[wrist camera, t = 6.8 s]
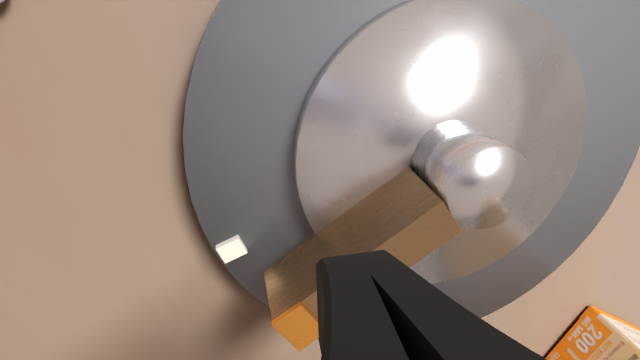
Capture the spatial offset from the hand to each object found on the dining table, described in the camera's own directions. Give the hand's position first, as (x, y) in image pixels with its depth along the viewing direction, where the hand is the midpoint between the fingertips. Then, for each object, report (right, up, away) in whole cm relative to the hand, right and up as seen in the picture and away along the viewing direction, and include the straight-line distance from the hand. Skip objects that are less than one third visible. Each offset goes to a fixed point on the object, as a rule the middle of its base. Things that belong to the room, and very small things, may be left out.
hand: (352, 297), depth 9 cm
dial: (+3, +3, +10) cm, 11 cm away
